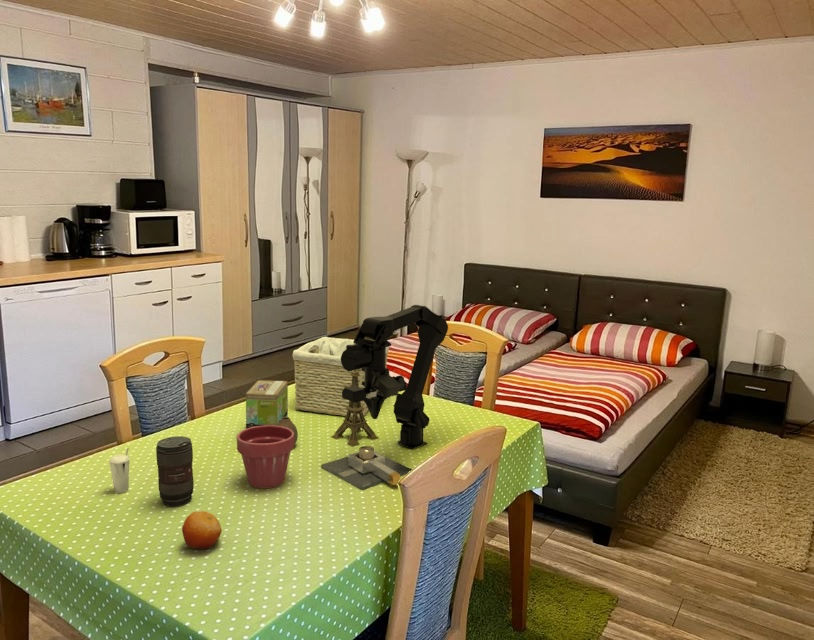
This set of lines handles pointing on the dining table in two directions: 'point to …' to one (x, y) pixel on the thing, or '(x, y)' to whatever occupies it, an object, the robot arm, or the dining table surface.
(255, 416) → the tea box
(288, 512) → the dining table surface
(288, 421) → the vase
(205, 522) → the fruit
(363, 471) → the square nut with handle
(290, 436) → the plant pot
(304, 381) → the basket
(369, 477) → the post base
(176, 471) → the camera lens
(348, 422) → the eiffel tower
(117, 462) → the milkshake
